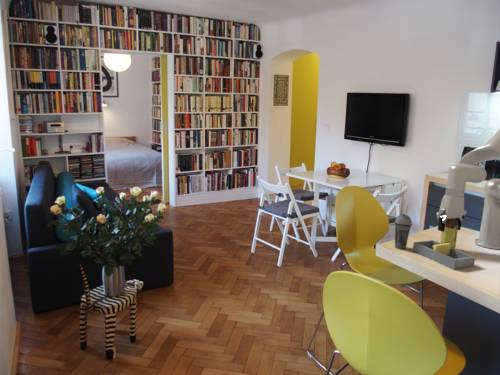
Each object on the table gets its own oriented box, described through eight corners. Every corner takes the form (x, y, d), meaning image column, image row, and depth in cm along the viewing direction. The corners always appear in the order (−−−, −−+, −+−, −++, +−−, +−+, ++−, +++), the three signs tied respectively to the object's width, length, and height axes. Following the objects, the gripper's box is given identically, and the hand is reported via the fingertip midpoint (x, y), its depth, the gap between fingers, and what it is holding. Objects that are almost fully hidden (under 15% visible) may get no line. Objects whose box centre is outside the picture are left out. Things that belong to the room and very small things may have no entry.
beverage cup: (389, 244, 189) (394, 202, 185) (405, 245, 189) (410, 203, 185) (394, 250, 182) (399, 206, 178) (411, 250, 182) (416, 207, 178)
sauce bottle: (456, 252, 182) (462, 209, 178) (441, 250, 183) (447, 208, 179) (452, 247, 188) (458, 205, 184) (438, 246, 190) (443, 204, 186)
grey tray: (431, 248, 186) (432, 239, 185) (473, 266, 166) (475, 257, 165) (412, 250, 182) (413, 242, 181) (453, 269, 162) (455, 260, 161)
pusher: (439, 250, 180) (441, 240, 179) (449, 254, 175) (450, 243, 174) (425, 252, 177) (426, 241, 176) (434, 256, 172) (436, 245, 171)
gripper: (461, 190, 187) (455, 226, 191) (433, 191, 181) (427, 228, 184) (476, 194, 180) (469, 231, 184) (447, 195, 174) (441, 234, 177)
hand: (448, 230), depth 184 cm, fingers open, 9 cm apart
